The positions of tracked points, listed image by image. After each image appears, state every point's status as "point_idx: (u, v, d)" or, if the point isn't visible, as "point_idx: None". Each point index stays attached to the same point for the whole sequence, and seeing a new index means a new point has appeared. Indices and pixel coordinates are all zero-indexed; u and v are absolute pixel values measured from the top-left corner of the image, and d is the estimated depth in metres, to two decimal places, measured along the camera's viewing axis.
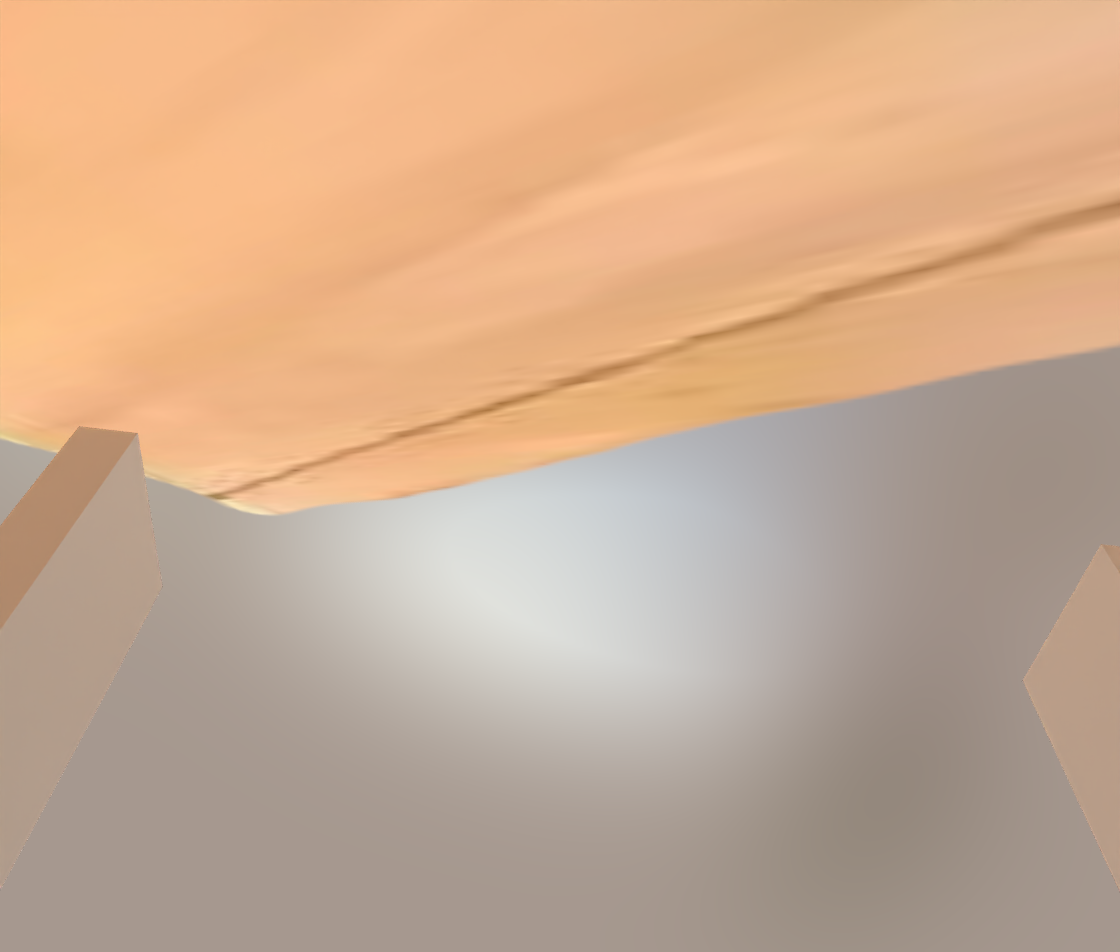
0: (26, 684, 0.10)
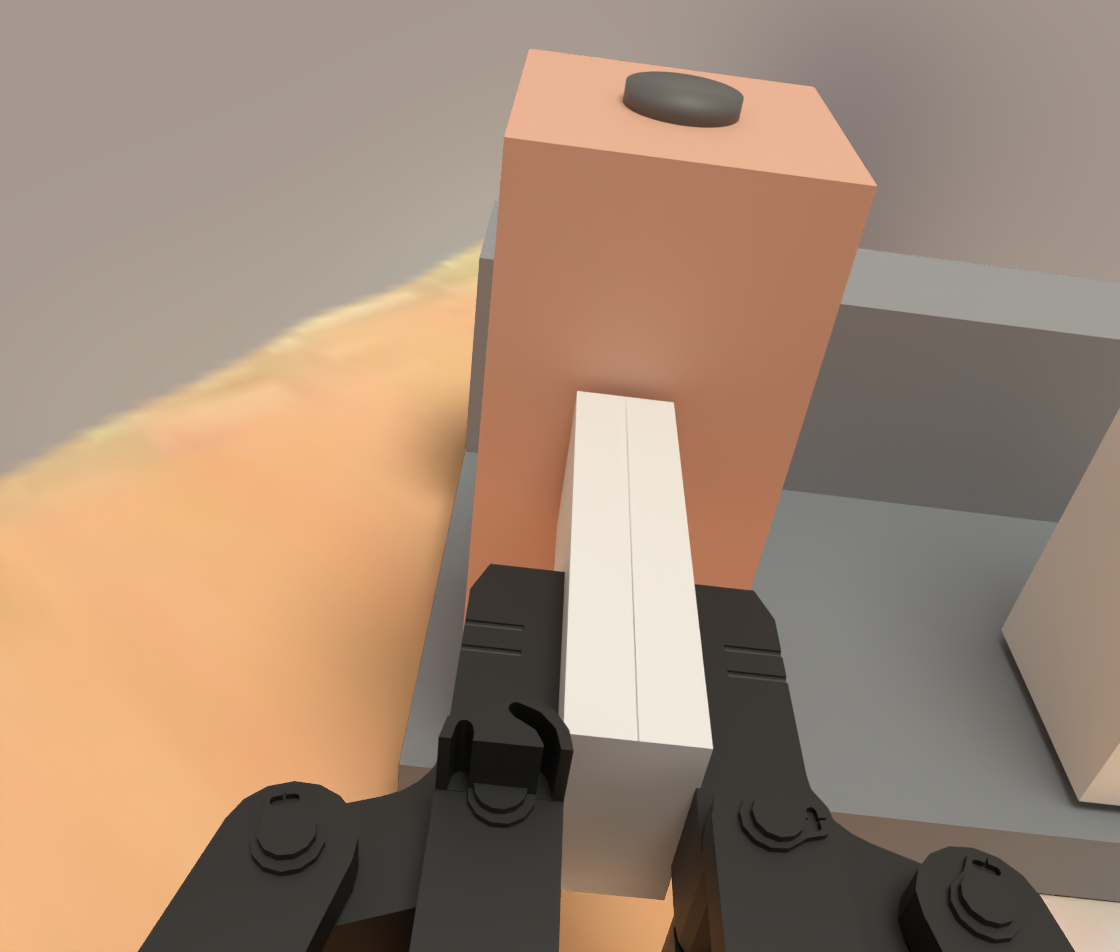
0: None
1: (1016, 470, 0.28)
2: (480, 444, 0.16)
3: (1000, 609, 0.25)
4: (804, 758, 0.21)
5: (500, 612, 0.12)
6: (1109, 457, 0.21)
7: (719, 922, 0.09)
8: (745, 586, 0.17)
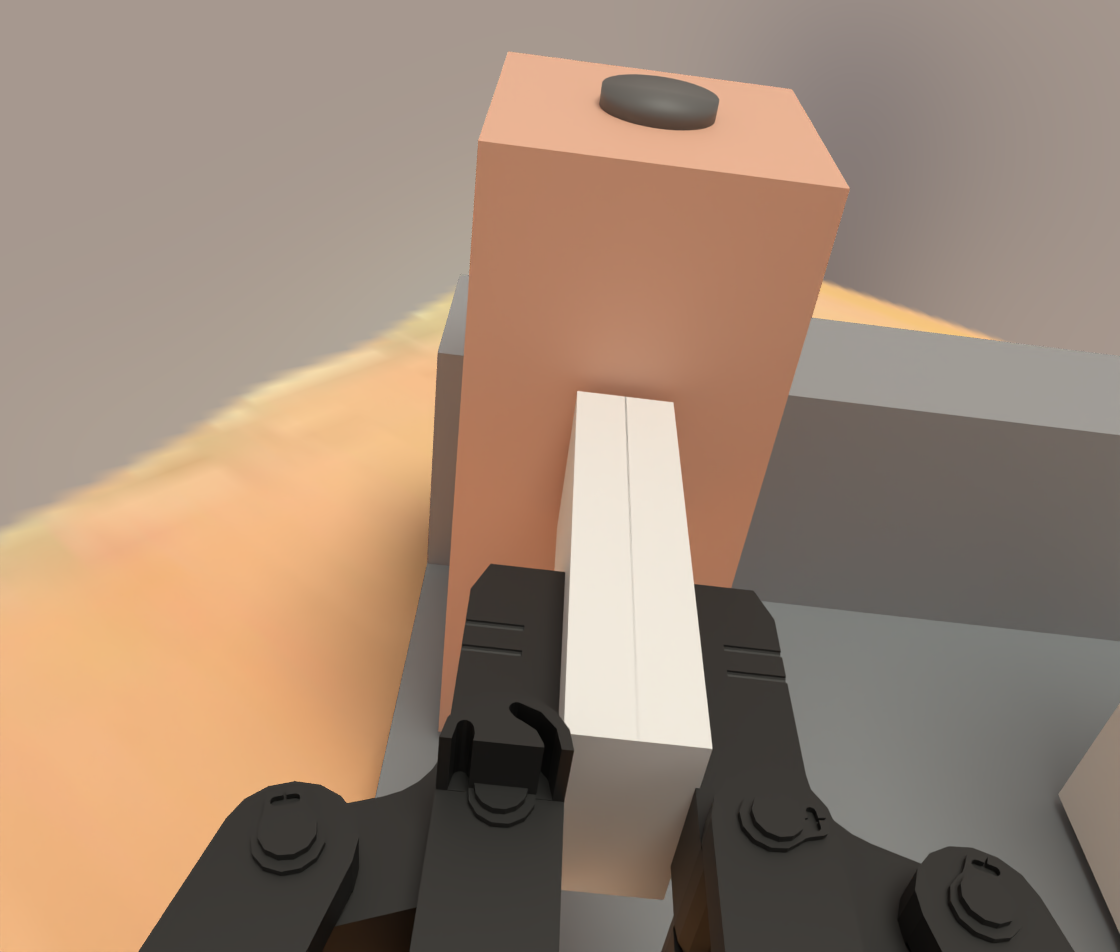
0: None
1: (1065, 585, 0.24)
2: (459, 446, 0.16)
3: (1053, 762, 0.22)
4: None
5: (500, 612, 0.12)
6: None
7: (718, 922, 0.09)
8: (725, 586, 0.17)
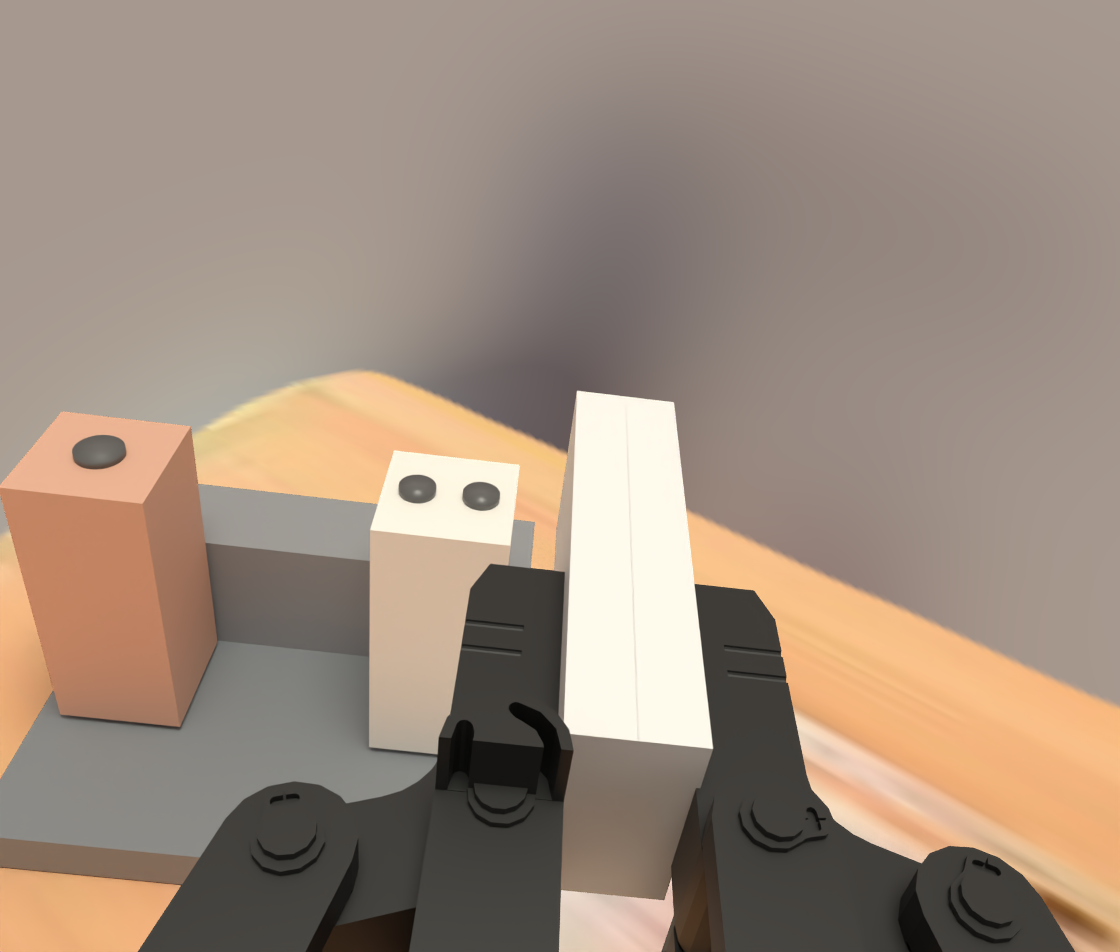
0: None
1: None
2: (27, 590, 0.37)
3: None
4: (203, 827, 0.38)
5: (500, 612, 0.12)
6: None
7: (719, 922, 0.09)
8: (163, 648, 0.39)
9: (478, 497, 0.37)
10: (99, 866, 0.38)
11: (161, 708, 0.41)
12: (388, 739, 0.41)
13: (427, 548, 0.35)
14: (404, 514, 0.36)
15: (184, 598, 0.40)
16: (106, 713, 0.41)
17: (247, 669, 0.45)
